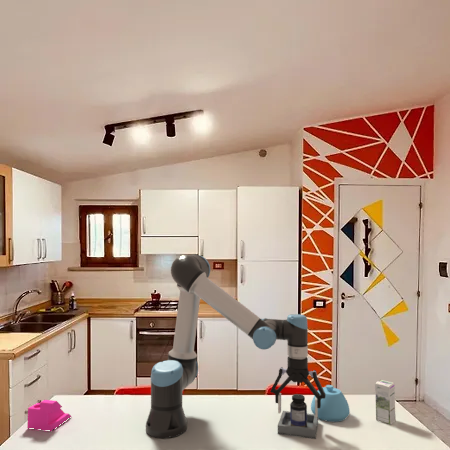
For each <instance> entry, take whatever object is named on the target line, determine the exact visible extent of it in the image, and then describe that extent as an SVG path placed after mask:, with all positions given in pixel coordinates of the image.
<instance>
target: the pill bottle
mask: <svg viewBox="0 0 450 450" xmlns="http://www.w3.org/2000/svg"><path fill="white" fill-rule="evenodd" d="M291 400H292V401H291V402H290V404H289V405H290V410H289V412H290V417H291V426H299V427H307V414H308V411H307V410H308V405H307V403H306V402H305V395H303V394H300V393H299V394H298V393H296V394H293V395H291Z"/></svg>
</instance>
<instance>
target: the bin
mask: <svg viewBox="0 0 450 450" xmlns="http://www.w3.org/2000/svg"><path fill="white" fill-rule="evenodd" d="M318 421H319V418H318V417H317V418H315V414H312V413H307V427H299V426H291V417H290V410H289V411H288V410H282V411H281V415H280V418H279V420H278V423H277V435H284V436H291V437H299V438H305V439H312V440H313V439H314V440H316V439H317V431H318V425H319V424H318V423H319V422H318Z"/></svg>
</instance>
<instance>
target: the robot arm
mask: <svg viewBox="0 0 450 450" xmlns="http://www.w3.org/2000/svg"><path fill="white" fill-rule="evenodd" d="M170 274H171V278H172V279H173V280H174V282H175V283H176V287H177V288H178V290H179V297H178V304H177V313H176V321H175V329H174V336H173V346H172V349H171V350H170V351H168V355H167V360H163V361H159V362H157V363H155V364H154V365H153V367H152V369H151V375H150V411H149V414H148V416H147V419H146V423H145V432H146V434H147V435H149V436H151V437H154V438H157V439H158V438H159V439H169V438H174V437H178V436H180V435H182V434H184V433H185V432H186V431H187V429H188V428H187V427H188V420H187V418H186V414H185V410H184V408H183V392H184V390H185V389H186V388H188V387H189V386H190V385H191V384H192V383H193V382H194V380H195V379H196V378H197V375H198V373H199V364H198V361H197V357H198V355H197V353H196V351H195V343H196V336H197V326H198V320H199V312H200V311H199V310H200V303H201V300H202V301H203V302H205V303H206V304H207V305H208V306H210V307H211V308H212V309H214V310H215V311H216V312H218V314H220V315H222V317H223V318H225V319H226V320H228V321H229V322H230V323H231V324H232V325H233V326H236V328H238V329H239V330H240V331H242V332H243V333H244V334H245V335H247V336H248V337H249V338H250V339H251V340H252V341H253V343H254V345H255V346H256V347H257V348H258V349H260V350H268V349H270V348H271V347H272V346H274V345H275V344H276V341H277V340H280V341H282V340H283V341H287V368H283V366H281V367H279V369H278V375H277V377H276V379H275V381H274V383H273V385H272V386H271V389H270V393H271V394H273V395H274V397H275V398H274V399H275V404H277V406H278V407H277V414H282V393H281V392H282V391H283V390H284V389H285V388H286V387H287V385H288V384H289V383H290V382H291V381H292V382H293V383H299V384H300V383H301V384H302V383H304V385H305V386H306V387H308V389H309V390H310V391H311V393H312V394H313V396H314V395H315V418H317V417H318V408H320V407H321V399H322V398H325V396H326V394H325V392H324V390H323V388H322V387H323V386H322V383H321V382H320V380H319V378H318V374H317V370H314V369H313V371H312V370H309V368H308V367H309V361H308V360H309V358H308V357H309V352H308V350H309V348H308V347H309V345H308V341H309V340H308V337H309V336H308V335H309V334H308V333H309V331H308V330H309V329H308V318H307V316H306V315H303V314H300V313H298V314H297V313H295V314H288V315H287V317H286V319H278V318H277V319H275V318H266V317H265V318H261V317H260V316H258V315H257V314H255V313H254V312H253V311H251V310H250V309H249V308H248V307H246V306H245V305H244V304H243V303H241V302H240V301H239V300H237V299H236V298H235V297H234V296H232V295H231V294H229V293H228V292H227V291H225V290H224V289H223V288H221V287H220V286H219V285H218V284H216V283H215V282H214V281H213V280H211V279H210V278H209V276H210V274H211V265H210V263H209V260H208V259H206V257H204V256H203V255H199V254H194V253H193V254H183V255H179V256H178V257H176V258H175V259H174V260H173V262H172V263H171V267H170ZM285 374H287V378H286V379H285V380H284V381H283V382H282V383H281V385H280V386H279V387H278V388H277V386H278V384H279V382H280V380H281V379H282V376H283V375H285ZM309 376H310V377H311V378H312V379H313V381H314V384H315V385H316V387H317V389H316V387H315V386H314V384H312V382H311V381H310V379H309V378H308V377H309ZM276 388H277V389H276ZM318 390H319V392H320V394H319V393H318Z"/></svg>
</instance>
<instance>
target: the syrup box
mask: <svg viewBox="0 0 450 450" xmlns="http://www.w3.org/2000/svg"><path fill="white" fill-rule="evenodd" d="M374 386H375V387H374V389H375V390H374V391H375V392H374V393H375V420H376V421H378V422H381V423H384V424H387V425H388V424H389V425H392V424H393V423H394V422H396V390H395V389H396V384H395V382H392V381H388V380H383V379H379V380H377V381H376V382H375V384H374Z"/></svg>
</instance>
